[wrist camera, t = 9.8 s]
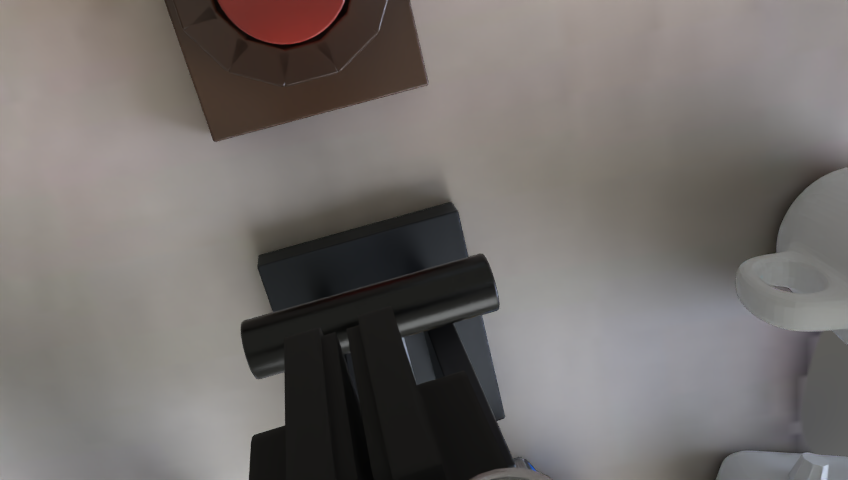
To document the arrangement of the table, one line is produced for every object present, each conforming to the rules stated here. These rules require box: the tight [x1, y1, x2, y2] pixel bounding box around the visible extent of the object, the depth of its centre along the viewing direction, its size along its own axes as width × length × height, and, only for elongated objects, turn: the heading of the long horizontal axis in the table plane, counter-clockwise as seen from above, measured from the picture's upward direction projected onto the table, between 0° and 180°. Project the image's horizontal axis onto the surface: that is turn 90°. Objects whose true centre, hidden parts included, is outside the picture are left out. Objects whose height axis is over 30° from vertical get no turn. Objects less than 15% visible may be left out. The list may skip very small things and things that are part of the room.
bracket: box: [258, 202, 527, 469], centre depth 27 cm, size 10×8×13 cm
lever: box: [241, 254, 499, 381], centre depth 20 cm, size 11×6×2 cm, turn 14°
